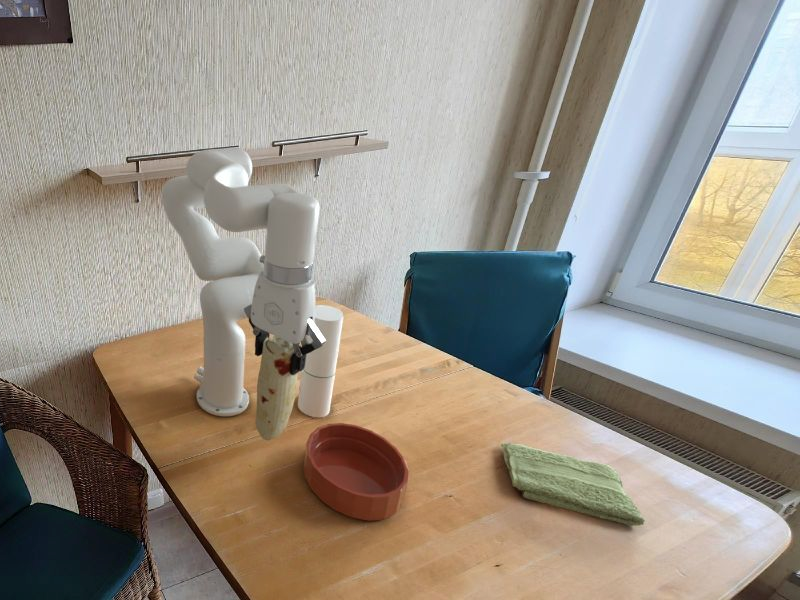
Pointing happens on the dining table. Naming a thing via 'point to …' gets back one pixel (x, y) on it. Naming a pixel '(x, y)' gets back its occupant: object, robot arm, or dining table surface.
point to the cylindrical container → (321, 364)
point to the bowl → (355, 471)
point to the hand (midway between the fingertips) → (278, 361)
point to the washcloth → (570, 483)
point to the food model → (275, 388)
